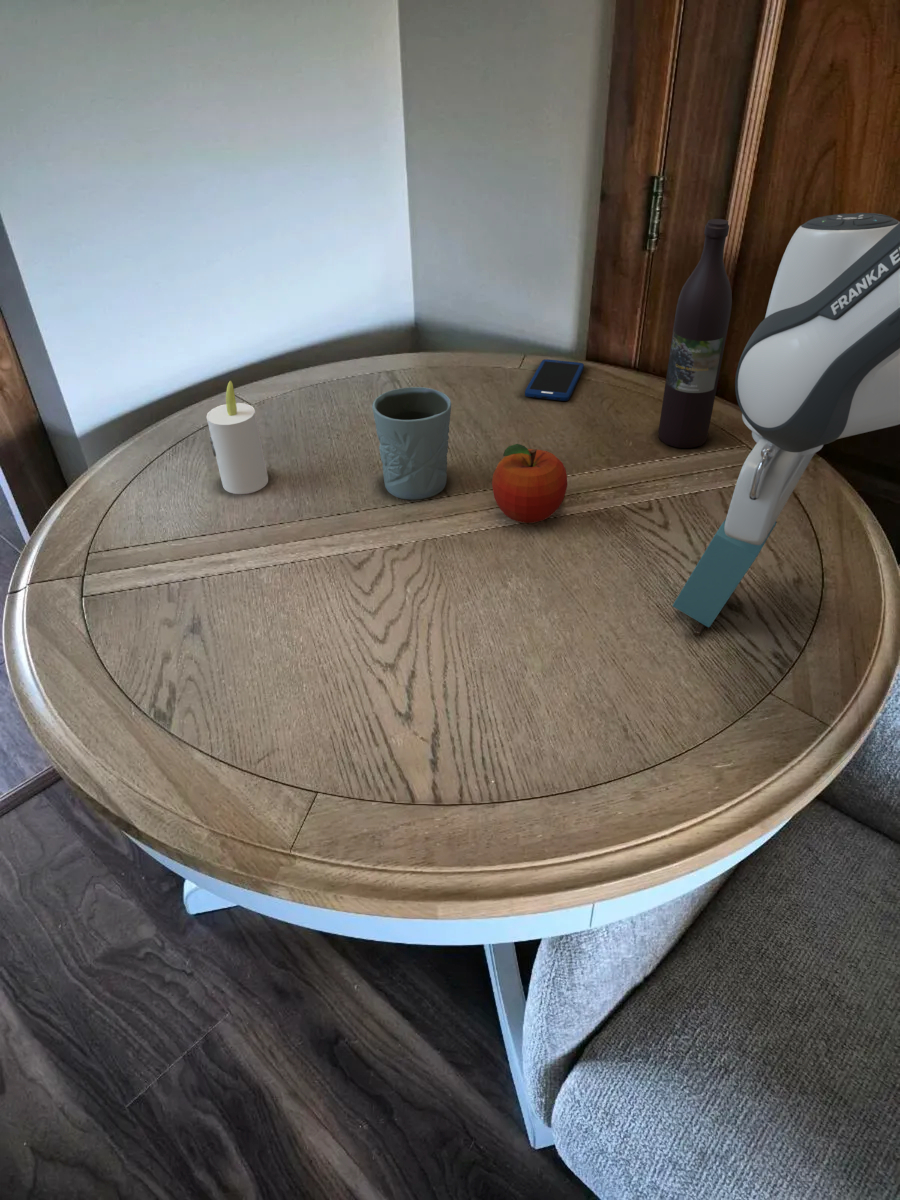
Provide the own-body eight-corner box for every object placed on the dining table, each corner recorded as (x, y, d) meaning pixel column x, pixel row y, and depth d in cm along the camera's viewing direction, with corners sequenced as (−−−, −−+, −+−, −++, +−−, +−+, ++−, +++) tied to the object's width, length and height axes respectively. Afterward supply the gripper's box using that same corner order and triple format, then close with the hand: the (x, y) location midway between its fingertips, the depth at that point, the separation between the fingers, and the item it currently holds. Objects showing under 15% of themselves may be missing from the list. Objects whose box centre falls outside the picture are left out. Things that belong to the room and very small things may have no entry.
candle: (219, 475, 117) (195, 375, 107) (265, 467, 118) (245, 368, 109) (223, 498, 112) (199, 395, 103) (271, 489, 114) (251, 387, 104)
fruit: (574, 528, 104) (580, 459, 98) (501, 538, 103) (502, 468, 96) (553, 489, 111) (557, 422, 105) (484, 498, 110) (484, 431, 104)
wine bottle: (648, 439, 121) (677, 223, 102) (674, 422, 125) (707, 210, 106) (690, 454, 117) (729, 233, 98) (715, 436, 121) (758, 220, 102)
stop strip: (728, 587, 94) (729, 583, 94) (698, 637, 88) (699, 633, 87) (723, 585, 94) (724, 581, 94) (692, 635, 88) (693, 631, 88)
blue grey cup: (366, 493, 112) (358, 412, 104) (400, 458, 119) (394, 380, 111) (434, 508, 109) (430, 426, 101) (464, 472, 116) (463, 392, 108)
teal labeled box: (777, 521, 85) (738, 500, 86) (757, 556, 80) (715, 533, 81) (729, 592, 93) (694, 572, 94) (709, 628, 88) (671, 606, 89)
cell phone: (523, 396, 133) (523, 392, 133) (542, 362, 143) (543, 358, 143) (568, 402, 131) (568, 397, 131) (584, 366, 141) (585, 362, 141)
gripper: (802, 467, 66) (761, 599, 75) (858, 371, 79) (817, 493, 88) (724, 446, 68) (694, 576, 77) (791, 356, 81) (758, 476, 90)
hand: (760, 531), depth 83 cm, fingers closed, pressing on teal labeled box
